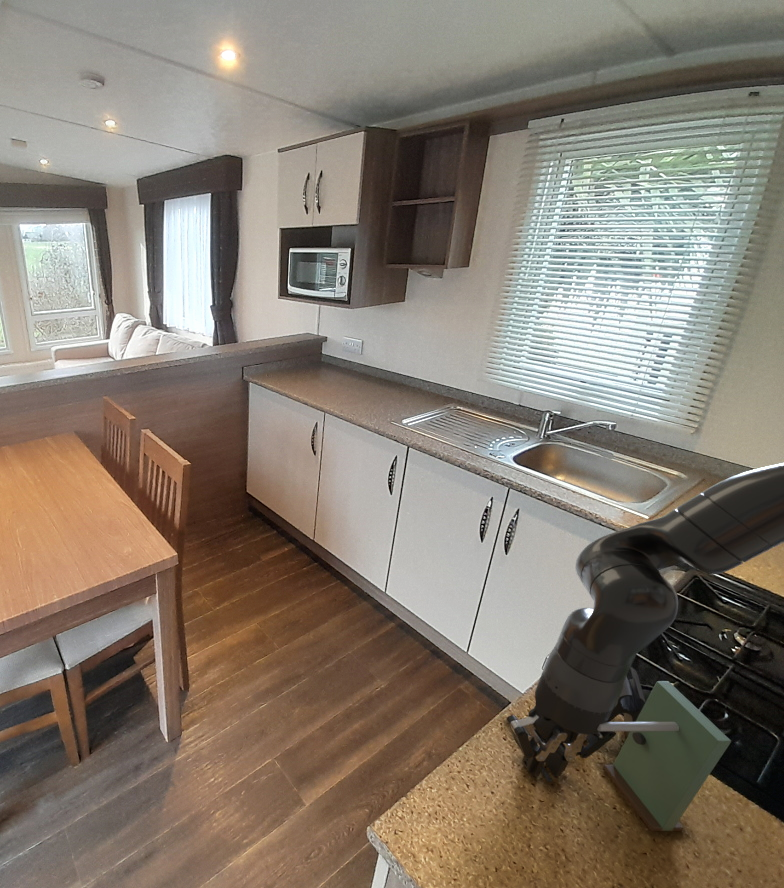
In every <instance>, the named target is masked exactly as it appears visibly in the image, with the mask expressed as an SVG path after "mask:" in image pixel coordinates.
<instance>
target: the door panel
mask: <svg viewBox="0 0 784 888" xmlns="http://www.w3.org/2000/svg"><path fill="white" fill-rule="evenodd" d="M645 701H646V703H645V705H644V707H643V709H642V711H641V712H640V714H639V716H638V718H637V720H636V722H624V721H610V722H605V723H603V724H600V725H599V727H598V729H597V730H598V731H615V732H625V731H630V733H629V735H628V737H627V739H626V738H625V741H624V742H623V744H622V746H621V748H620V751H619V752H618V755H617V756H616V758H615V760H614V761H613V764H603V766H602V769H603V770H604V771H605V773H606V774H607V775H608V776H609V778H610V779H611V780H612V782H613V783H614V784H615V786H616V787H617V788H618V790H619V792H621V793H622V795H623V797H624V798H625V799H626V800H627V802H629V804H630V805H631V807H632V808H633V809H634V811H635V812H636V814H637V815H638V816H639V818H640V819H641V820H642V821H643V822H644V824H645V825H646V826H647V828H648V829H649V830H650V831H651V832H665V831H666V832H682V831H683V830H684V826H683V825H682V823H680V820H681V818H682V817H683V815H684V814H685V812H686V811H687V809H688V808H689V807H690V805H691V803H692V801H693V800H694V798H695V797H696V795H697V794H698V792H699V791H700V790H701V788H702V786H703V785H704V783H705V781H707V779H708V777H709V776H710V775H711V773H712V771H713V770H714V768H715V767H716V766H717V764H718V762H719V761H720V759H721V758H722V757H723V755H724V753H725V752H726V751H727V749H728V747H729V746H730V744H731V743H732V740H731V739H730V737H728V736H727V735H725V733H724V732H723V731H722V730H720V728H718V727H717V726H716V725H715V724H714V723H713V722H712V721H711V720H710V719H709V718H708V717H707V716H706V715H705V714H704V713H703V712H701V710H699V709H698V708H697V707H696V706H695V705H694V704H693V703H692V702H691V701H690V700H689V699H688V698H687V697H686V696H684V694H683V693H681V692H680V690H679V689H677V688H676V687H675V686H674V685H673V684H672V683H671V682H670V681H669V680H658V681H655V684H654V686H653V688H652V690H651V691H650V693H649V695H648V697H647V699H646V700H645Z"/></svg>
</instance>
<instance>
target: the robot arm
mask: <svg viewBox="0 0 784 888" xmlns="http://www.w3.org/2000/svg"><path fill="white" fill-rule="evenodd" d="M783 543H784V462H781V463H775V464H771V465H767V466H762V467H758V468H754V469H751V470H747V471H744V472H740V473H738V474H736V475H735V474H734V475H732V476H731V477H728V478H726V479H723V480H721V481H719V482H718V483H715V484H713V485H711V486H710V487H708V488H706V489H705V490H702V492H700V493H699V494H697V495H695V496H693V497H692V498H690V499H688V500H687V501H685V502H684V503H682V504H680V505H678V506H677V507H676V508H673V509H672V510H671V511H669V512H668V513H666V514H665V515H662V516H660V517H658V518H654V519H652V520H647V521H644V522H641V523H637V524H634V525H633V526H632V525H631V526H629V527H626V528H623V529H620V530H618V531H614V532H612V533H608V534H606V535H604V536H601V537H599V538H597V539H595V540H593V541H591V542H590V543H589V544H588V545H586V546H585V547H584V548H583V549H582V551H581V552H580V553H579V555H578V556H577V558H576V560H575V564H574V565H575V572H576V575H577V577H578V578H579V580H580V582H581V583H582V585H583V586H584V588H585V589H586V591H587V593H588V594H589V596H590V597H591V599H592V600H593V607H581V608H576V609H574V610H573V611H571V613H570V614H568V616H567V617H566V618H565V621H564V623H563V625H562V628H561V631H560V633H559V636H558V638H557V641H556V643H555V645H554V647H553V648H552V650H551V651H550V652H549V655H548V657H547V659H546V662H545V665H544V667H543V670H542V672H541V675H540V677H539V680H538V682H537V686H536V688H535V690H534V700H535V705H534V706H533V708H532V709H530V711H529V712H528V716H526V717H523V718H520V719H518V718H517V717H516V715H514V714H512V715H508V716H507V717H506V721H507V724H508V726H509V729H510V732H511V735H512V737H513V740H514V741H515V743H516V745H517V747H518V748H519V749H520V751H521V753H522V754H523V756H522V758H521V759H522V760H521V762H522V764H523V766H524V767H525V769H526V770H527V772H528V773H529V774H530V775H531V777H539V776H540V774H541V773H542V772H541V770H542V767H543V766H544V765H546V767H547V769H548V770H549V771H550V773H551V775H552V776H553V777H561V776H562V774H563V773H564V772H565V771H566V769H567V766H568V765H569V762H572V761H574V760H575V759H576V758H577V756H579V757H580V758H581V759H587V758H589V757H591V756H592V755H593V754H595V753H596V752H597V751H598V750H599V749H600V748H602V747H603V746H605V745H606V744H607V743H608V742H610V741H611V740H612V739H614V737H616V735H617V731H598V730H597V729H598V727H599V725H600V724H603V723H605V722H607V721H608V719H609V717H610V715H611V713H612V711H613V709H614V707H615V705H616V703H617V701H618V699H619V697H620V695H621V692H622V690H623V685H624V681H625V678H626V676H627V675H628V673H629V672H630V668H631V667H632V665H633V663H634V662H635V659H636V656H637V654H639V652H641V651H643V650H644V649H645V648H647V647H648V646H649V645H651V644H652V643H653V642H654V641H655V640H656V639H657V638H658V637H660V636H661V635H662V634H663V633H664V632H665V631H667V630H668V629H669V628H670V627H671V625H672V624H673V623H674V622H675V619H676V618H677V615H678V612H679V611H678V610H679V598H678V594H677V592H676V589H675V588H674V587H673V585H672V584H671V583H670V581H668V579H667V578H666V577H665V576H664V575H663V574H662V572H661V570H664V569H667V568H670V567H673V566H674V567H675V566H678V565H683V564H687V565H689V566H690V567H692V568H693V569H695V570H697V571H700V572H702V573H704V574H708V575H719V574H723V573H725V572H729V571H731V570H733V569H735V568H737V567H739V566H741V565H743V564H744V563H747V562H748V561H750V560H752V559H754V558H756V557H758V556H761V555H762V554H764V553H766V552H768V551H769V550H773V548H776V547H778V546H779V545H781V544H783ZM586 739H587V742H588V743H587V744H586V745H585V746H584V743H585V741H584V740H586ZM545 759H546V760H545Z"/></svg>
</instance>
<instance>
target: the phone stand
mask: <svg viewBox="0 0 784 888" xmlns="http://www.w3.org/2000/svg"><path fill="white" fill-rule="evenodd" d="M629 671H630V673H631V677H632V678H630V679H628V676H627V675H626V678H625V681H624V685H623V690H622V692H621V695H620V697H619V699H618V701H617V703H616V705H615V707H614V709H613V711H612V713H611V715H610V717H609V719H608V721H607V722H612V721H613V720H614V719H616V717H617V716H619V715H621V714H623V722H636V720H637V718H638V716H639V714H640V712H641V711H642V709H643V707H644V705H645V703H646V701H647V700H646V697H645V694H644V691H643V687H642V685H641V681H640V678H639V675H638V674H639V673H638V672H637V670H636V669H635V668H634V667H632V666H631V667H630V669H629ZM629 733H630V731H624V734H625V740H626V739H627V737H628V735H629ZM584 742H588V740H587V739H586V740H584Z"/></svg>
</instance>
